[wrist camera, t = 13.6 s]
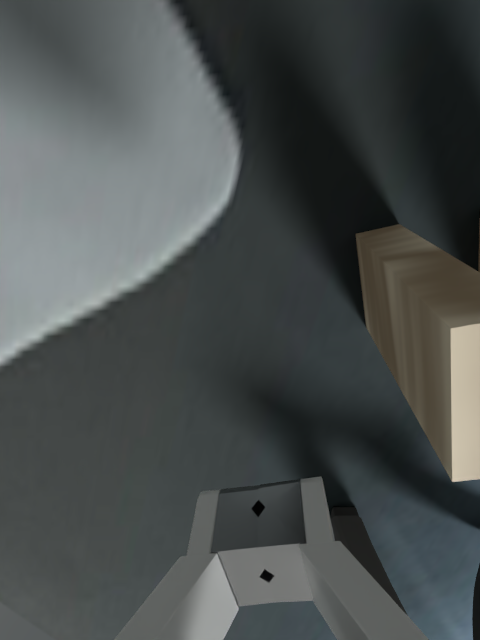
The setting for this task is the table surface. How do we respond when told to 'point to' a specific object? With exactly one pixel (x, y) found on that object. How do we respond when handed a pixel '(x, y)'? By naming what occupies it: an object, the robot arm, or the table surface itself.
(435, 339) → the domino
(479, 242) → the domino
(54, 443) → the table surface
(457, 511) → the table surface
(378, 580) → the hand grip strengthener
